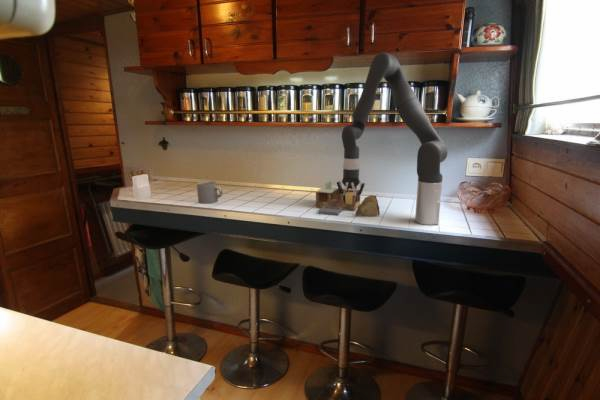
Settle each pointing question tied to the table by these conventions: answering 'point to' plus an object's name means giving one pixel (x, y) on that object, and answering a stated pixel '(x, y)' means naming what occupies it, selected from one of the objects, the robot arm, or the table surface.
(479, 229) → the table surface
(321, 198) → the wooden drawer box
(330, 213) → the dish
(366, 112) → the robot arm
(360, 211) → the rock
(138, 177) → the base with upright slab
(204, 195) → the coffee mug
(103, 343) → the table surface
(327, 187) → the lid
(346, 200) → the block
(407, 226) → the table surface
